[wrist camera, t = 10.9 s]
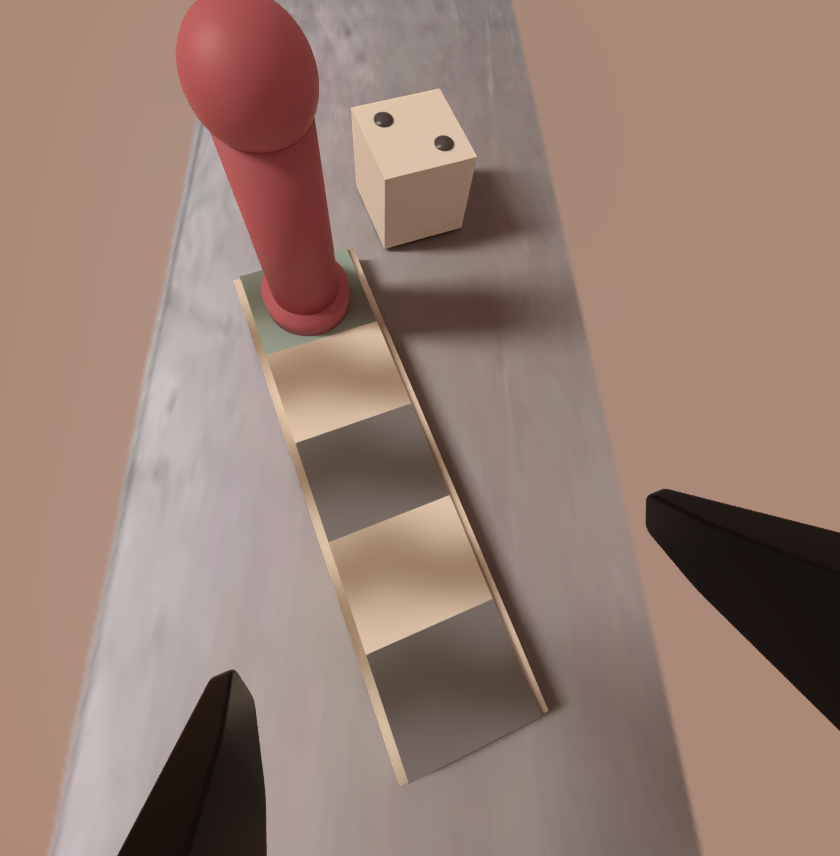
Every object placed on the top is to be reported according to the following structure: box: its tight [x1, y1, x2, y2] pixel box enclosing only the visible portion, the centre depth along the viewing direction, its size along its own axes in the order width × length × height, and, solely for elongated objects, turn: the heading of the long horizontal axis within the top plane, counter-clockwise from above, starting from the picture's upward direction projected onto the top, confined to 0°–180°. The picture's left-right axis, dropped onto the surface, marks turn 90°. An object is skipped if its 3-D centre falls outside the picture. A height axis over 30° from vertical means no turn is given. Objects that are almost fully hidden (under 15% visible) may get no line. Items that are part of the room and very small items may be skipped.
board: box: [234, 248, 549, 786], centre depth 23 cm, size 25×7×1 cm, turn 22°
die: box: [351, 89, 477, 249], centre depth 26 cm, size 5×5×5 cm
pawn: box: [176, 0, 350, 336], centre depth 19 cm, size 4×4×14 cm
